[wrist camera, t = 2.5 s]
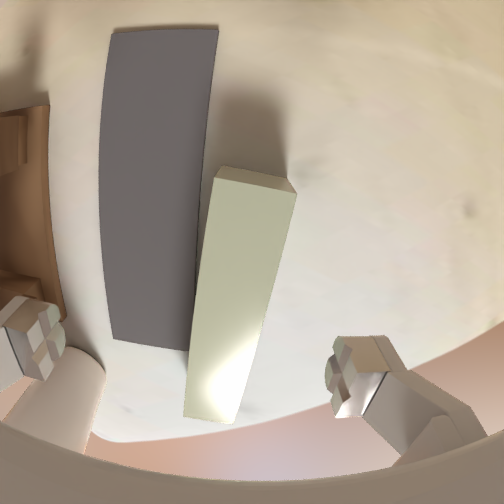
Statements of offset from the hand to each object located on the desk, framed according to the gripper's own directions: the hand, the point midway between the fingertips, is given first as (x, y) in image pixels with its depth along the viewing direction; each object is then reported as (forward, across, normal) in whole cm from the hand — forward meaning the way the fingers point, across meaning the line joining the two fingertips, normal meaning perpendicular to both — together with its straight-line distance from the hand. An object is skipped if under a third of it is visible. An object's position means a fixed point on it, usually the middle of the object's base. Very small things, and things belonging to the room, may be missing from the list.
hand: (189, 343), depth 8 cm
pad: (+10, +4, -1) cm, 11 cm away
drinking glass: (+11, +11, +14) cm, 20 cm away
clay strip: (+10, -1, +5) cm, 11 cm away
